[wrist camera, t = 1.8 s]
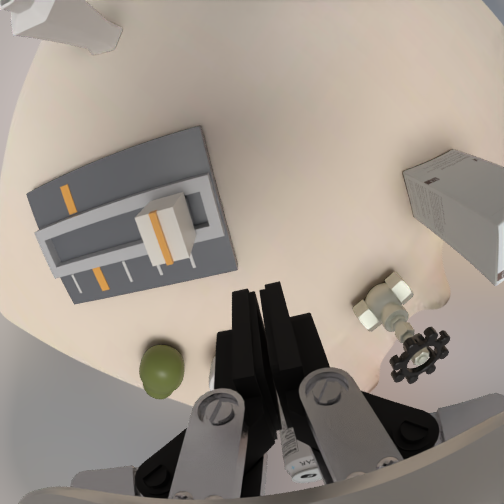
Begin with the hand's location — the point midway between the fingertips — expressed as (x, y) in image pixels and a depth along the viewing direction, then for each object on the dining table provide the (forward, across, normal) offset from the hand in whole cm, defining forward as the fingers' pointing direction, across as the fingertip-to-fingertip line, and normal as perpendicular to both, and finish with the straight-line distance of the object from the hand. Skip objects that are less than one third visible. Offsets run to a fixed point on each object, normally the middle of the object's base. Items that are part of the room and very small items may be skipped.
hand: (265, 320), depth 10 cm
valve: (+19, -13, +15) cm, 27 cm away
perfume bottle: (+19, +9, -19) cm, 29 cm away
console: (+19, +12, 0) cm, 22 cm away
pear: (+19, +16, +19) cm, 31 cm away
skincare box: (+19, -21, +3) cm, 28 cm away
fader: (+17, +6, 0) cm, 18 cm away
